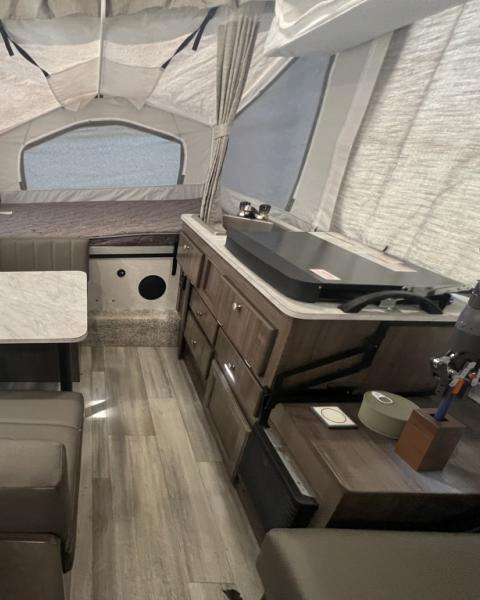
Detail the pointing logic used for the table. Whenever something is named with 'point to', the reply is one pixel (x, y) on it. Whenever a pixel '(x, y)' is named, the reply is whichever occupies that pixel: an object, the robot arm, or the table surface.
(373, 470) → the table surface
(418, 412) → the pen stand
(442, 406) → the marker
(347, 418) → the drawing pad
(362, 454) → the table surface
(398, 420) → the can
